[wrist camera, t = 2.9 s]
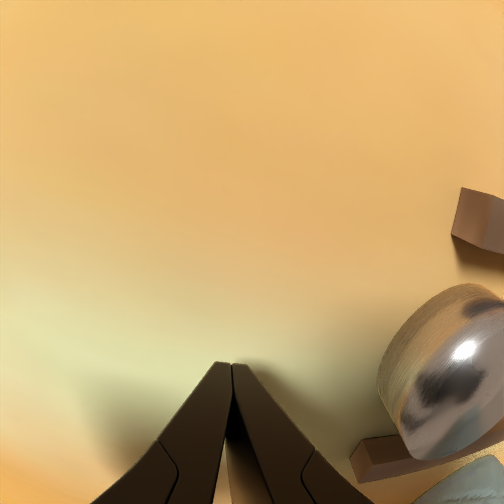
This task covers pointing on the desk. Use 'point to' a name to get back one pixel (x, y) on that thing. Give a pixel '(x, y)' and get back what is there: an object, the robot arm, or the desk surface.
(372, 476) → the channel
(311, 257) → the desk surface
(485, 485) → the pale green cup
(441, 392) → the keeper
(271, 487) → the robot arm
